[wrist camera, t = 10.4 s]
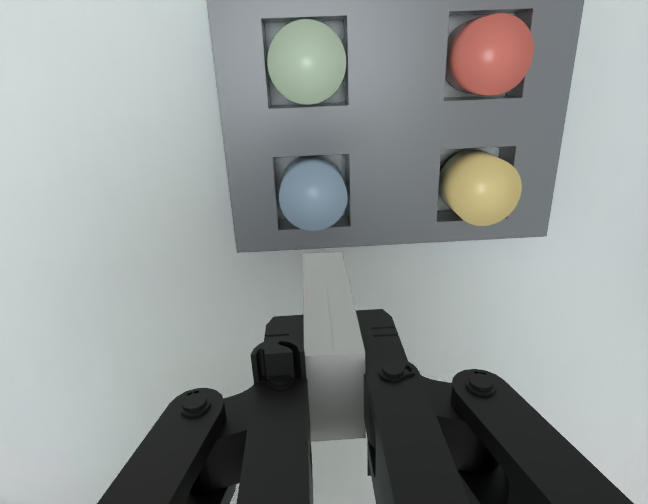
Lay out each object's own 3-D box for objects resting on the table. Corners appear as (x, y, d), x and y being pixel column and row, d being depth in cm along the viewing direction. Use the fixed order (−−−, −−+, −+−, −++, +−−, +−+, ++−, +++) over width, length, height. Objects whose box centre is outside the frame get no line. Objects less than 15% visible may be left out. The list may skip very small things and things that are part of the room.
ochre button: (436, 212, 32) (450, 227, 29) (440, 150, 31) (455, 159, 28) (496, 209, 32) (517, 224, 29) (503, 147, 31) (525, 156, 28)
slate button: (283, 217, 33) (281, 232, 30) (278, 156, 31) (276, 165, 28) (343, 214, 33) (348, 229, 30) (342, 153, 31) (346, 162, 28)
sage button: (273, 102, 29) (270, 106, 26) (268, 25, 27) (263, 20, 24) (342, 99, 29) (347, 102, 26) (340, 23, 27) (345, 17, 24)
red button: (439, 94, 30) (455, 97, 27) (444, 20, 28) (461, 14, 25) (505, 91, 30) (528, 94, 27) (513, 17, 28) (538, 11, 25)
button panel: (241, 240, 34) (236, 252, 31) (213, -3, 28) (205, -10, 25) (529, 224, 34) (546, 236, 32) (564, -16, 28) (588, -23, 26)
